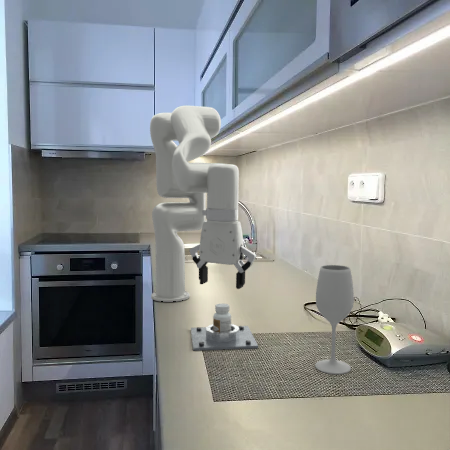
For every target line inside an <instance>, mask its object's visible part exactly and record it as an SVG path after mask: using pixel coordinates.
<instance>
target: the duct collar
mask: <svg viewBox="0 0 450 450" xmlns="http://www.w3.org/2000/svg"><path fill="white" fill-rule="evenodd" d="M238 326H239V325H236V324H234V323H231V331H230V332H215V331H213V323H212V324H209V325H208V326H205V327H206V338H207V339H209V340H211V341H217V342H229V341H233V340H236V339H238V338H239V327H238Z"/></svg>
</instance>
